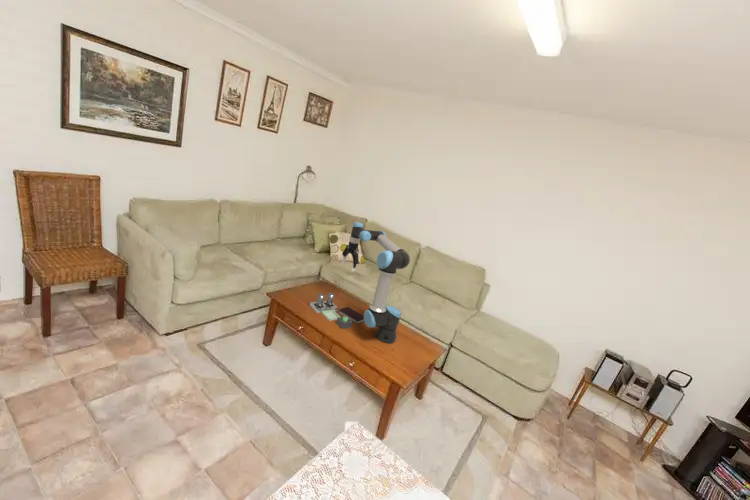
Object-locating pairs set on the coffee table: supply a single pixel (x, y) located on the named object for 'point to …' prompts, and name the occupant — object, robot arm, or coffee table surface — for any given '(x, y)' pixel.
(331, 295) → the seated billet
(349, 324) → the console
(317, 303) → the billet
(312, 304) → the pallet
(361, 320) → the book
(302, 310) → the coffee table surface
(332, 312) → the green plate
